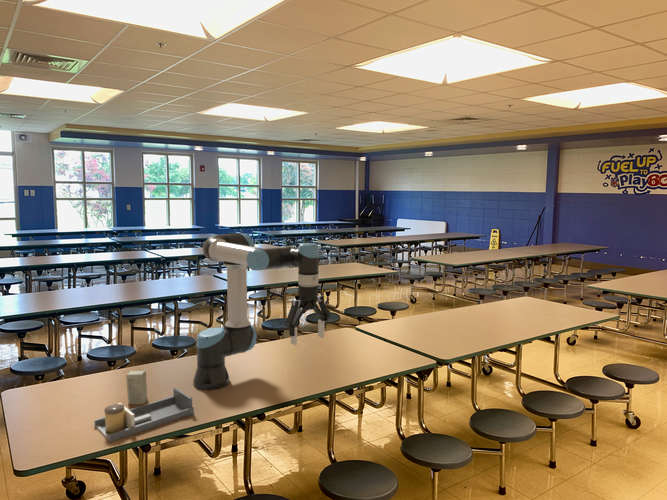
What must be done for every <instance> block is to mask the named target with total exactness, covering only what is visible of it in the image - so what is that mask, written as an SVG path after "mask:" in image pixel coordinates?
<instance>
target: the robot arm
mask: <svg viewBox="0 0 667 500" xmlns="http://www.w3.org/2000/svg"><path fill="white" fill-rule="evenodd" d="M319 250H320V249H319V245H318V244H317V243H314V242H302V243H301V242H300V244H298V247H297V246H291V245H282V246H281V245H280V247H273V248H272V247H271V248H264V247H263V248H262V247H256V246H255V243H254V240H253V239H252V237H251V236H250V235H249V234H247V233H240V232H238V233H223V234H222V233H221V234H215V235H212V236H210V237H208V238H207V239H205V241H204V243H203V245H202V251H203V256H205V258H206V259H208V260H209V261H211V262H216V263H223V266H224V267H225V268H226V283H227V284H226V285H227V291H226V293H227V295H226V296H227V321H226V322H225V323H224V328H222V327H218V326H217V327H216V326H215V327H209V328H206V329H204V330H201V331H200V332H199V333H198V334H197V337H196V343H195V345H196V361H197V362H196V364H197V366H196V371H195V374H194V376H193V381H192V382H193V386H194V387H195V388H196V389H199V390H205V391H208V390H218V389H221V388H224V387H226V386H228V384H229V383H230V375H229V372H228V370H227V367H226V362H225V361H226V357H230V356H234V355H239V354H242V353H243V354H244V353H246V352H248V351H251V350H252V349H253V348H254V347H255V345H256V343H257V332H256V328H255V326H253V325H252V322H250V320H249V319H248V285H247V284H248V283H247V282H248V279H247V278H248V277H247V273H248V272H247V271H248V270H247V267H248V268H250V271H251V270H252V271H263V270H270V269H279V268H288V267H294V268H298V273H297V274H298V277H297V278H298V280H297V281H298V282H297V284H298V287H297V289H298V292H297V295H298V297H299V298H298V299H292V301H291V307H290V309H289V310H288V311H289V312H288V314H287V317H286V319H285V323H284V326H285V327H287V328H288V332H289V336H290V344H291V345H293V346H297V345H298V327H297V324H298V323H299V322H300V319H301V318H302V317H303V315H304V313H305V312H307V311H310V310H313V312H314V313H315V314H316V315H317V317H318V318H319V319H318V320H317V321H318V322H317V327H318V328H317V336H318V338H319V337H320V338H322V339H324V338H325V329H326V322H328V320H329V319H330V318H331V316H330V313H329V310H328V308H327V305H326V303H325V296H324V295H320V294H319V278H320V277H319V276H320V275H319V272H320V271H319V269H320V268H319V267H320V266H319V265H320V264H319V263H320V260H319V259H320V251H319Z"/></svg>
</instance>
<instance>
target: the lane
mask: <svg viewBox="0 0 667 500" xmlns="http://www.w3.org/2000/svg"><path fill="white" fill-rule="evenodd" d="M128 409H129V410H130V411H131V412H132V413H133V414H134V418H136V417H139V416H142V415H146V414H150V415H151V419H148V420H145V421H142V422H139V423H136V424H135V426H133V427H130V428H127V427H126V426H125V429H124V430H121V431H118V432H115V433H112V434H109V433H106V427H105V416H104V417H100V418H96V419H94V422H93V423H94V427H95V428H96V429H97V430H98V431H99V432H100V434H102V436H103V437H105V438H106V440H107V441H108V442H109V443H112V442H115V441H118V440H120V439H124V438H127V437H129V436H133V435H135V434H138V433H141V432H142V433H143V432H144V431H147V430H149V429H150V430H151V429H152V428H156V427H159V426H161V425H164V424H167V423H168V424H169V423H170V422H173V421H177V420H179V419H180V420H182V419H183V418H187V417H189V416H192V415H194V414H195V407H193V397H192V396H190V395H189V394H187V393H186V392H184V391H182V390H180V389H179V388H177V387H174V388H173V395H172V396H169V397H165V398H162V399H158V400H156V401H152V402H149V403H144V404H141V405H139V406H136V407H133V408H128Z"/></svg>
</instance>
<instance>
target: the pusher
mask: <svg viewBox="0 0 667 500" xmlns="http://www.w3.org/2000/svg"><path fill="white" fill-rule="evenodd" d="M117 404H122V402H118V403H117ZM122 405H124V404H122ZM129 409H130V408H128V407H126V406H125V405H124V423H125V426H126V427H127V428H130V427H133V426H135V424H136V423H139V422H142V421H145V420H148V419H151V415H150V414H146V415H142V416H139V417H136V418H134V414H133V413H132V412H131V411H130V410H129Z"/></svg>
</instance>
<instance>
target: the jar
mask: <svg viewBox="0 0 667 500" xmlns="http://www.w3.org/2000/svg"><path fill="white" fill-rule="evenodd" d="M124 406H125V405H124V404H123V405H122V403H121V404H118V403H117V404H116V403H115V404H110V405H107V406H106V407H105V408H104V417H105V427H106V433H109V434H112V433H115V432H118V431H121V430H124V429H125V423H124Z"/></svg>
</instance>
